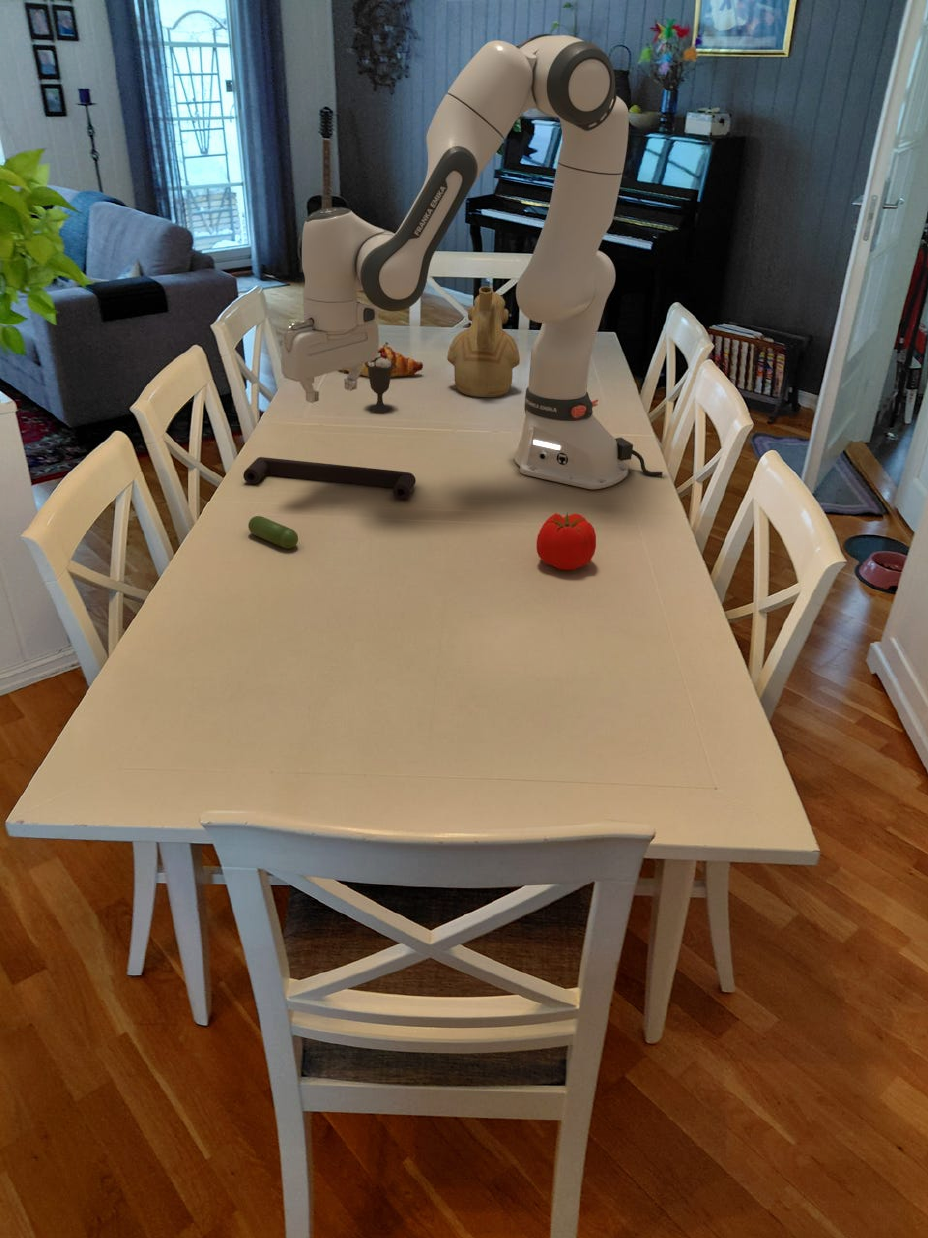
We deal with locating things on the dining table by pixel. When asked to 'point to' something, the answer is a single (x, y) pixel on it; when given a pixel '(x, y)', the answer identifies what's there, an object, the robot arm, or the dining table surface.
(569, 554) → the tomato
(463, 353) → the ceramic vessel
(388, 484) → the handle
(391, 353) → the croissant
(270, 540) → the pickle
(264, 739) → the dining table surface
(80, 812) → the dining table surface
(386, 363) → the sundae
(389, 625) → the dining table surface
